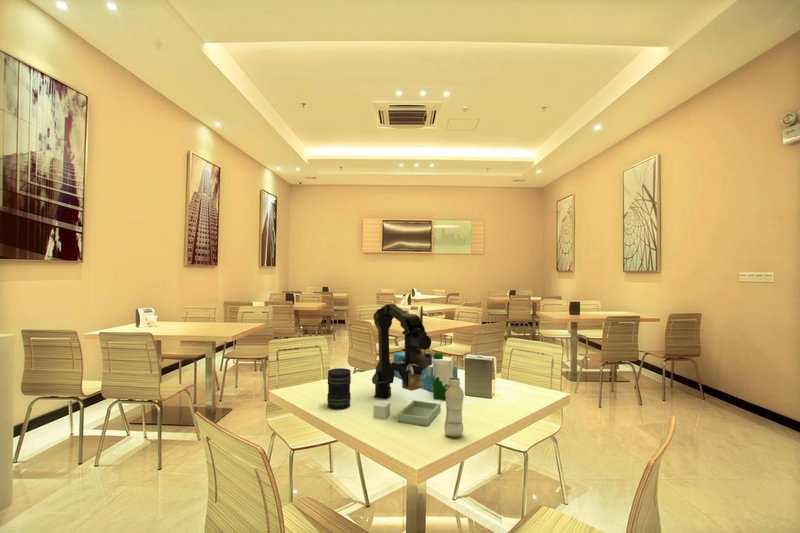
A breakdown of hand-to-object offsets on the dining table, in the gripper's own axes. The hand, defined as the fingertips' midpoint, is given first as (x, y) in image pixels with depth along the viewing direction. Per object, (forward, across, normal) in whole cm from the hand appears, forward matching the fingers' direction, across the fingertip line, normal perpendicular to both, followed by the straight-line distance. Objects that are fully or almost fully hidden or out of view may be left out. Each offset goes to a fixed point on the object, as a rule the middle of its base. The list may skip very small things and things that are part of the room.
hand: (411, 385), depth 159 cm
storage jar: (+11, -16, +28) cm, 34 cm away
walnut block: (+1, 0, 0) cm, 1 cm away
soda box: (+11, +38, +29) cm, 49 cm away
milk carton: (+12, +26, +6) cm, 29 cm away
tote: (+12, +1, -4) cm, 12 cm away
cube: (+12, -10, +6) cm, 17 cm away
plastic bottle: (+13, -4, -24) cm, 28 cm away
